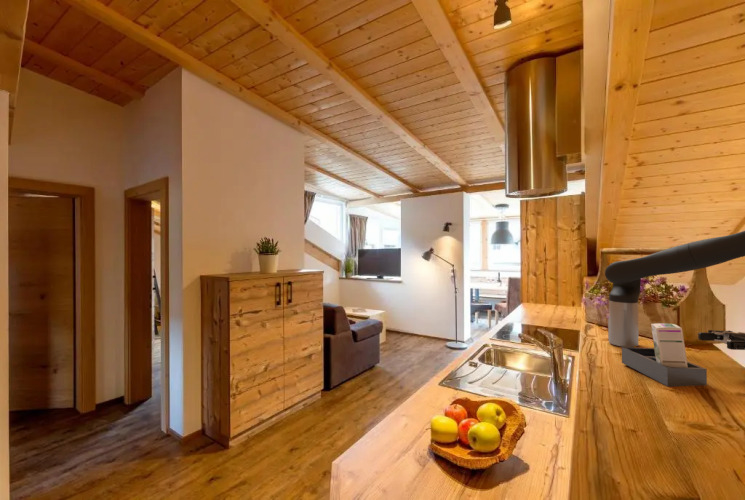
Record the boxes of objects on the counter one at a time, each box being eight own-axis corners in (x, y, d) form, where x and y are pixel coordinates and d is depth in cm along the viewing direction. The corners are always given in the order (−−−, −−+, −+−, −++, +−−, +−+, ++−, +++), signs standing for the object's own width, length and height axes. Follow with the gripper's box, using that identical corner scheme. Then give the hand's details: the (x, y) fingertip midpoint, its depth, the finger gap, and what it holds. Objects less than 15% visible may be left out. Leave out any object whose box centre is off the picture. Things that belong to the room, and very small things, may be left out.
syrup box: (690, 381, 87) (684, 327, 87) (662, 379, 90) (656, 327, 90) (682, 374, 92) (676, 323, 92) (656, 372, 95) (650, 322, 95)
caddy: (621, 362, 105) (621, 347, 105) (653, 363, 104) (653, 348, 104) (667, 386, 87) (667, 367, 87) (706, 387, 86) (706, 369, 86)
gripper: (750, 322, 95) (690, 321, 97) (810, 335, 81) (739, 333, 83) (750, 347, 95) (690, 346, 97) (810, 364, 81) (739, 362, 83)
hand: (713, 340), depth 90 cm, fingers open, 8 cm apart
